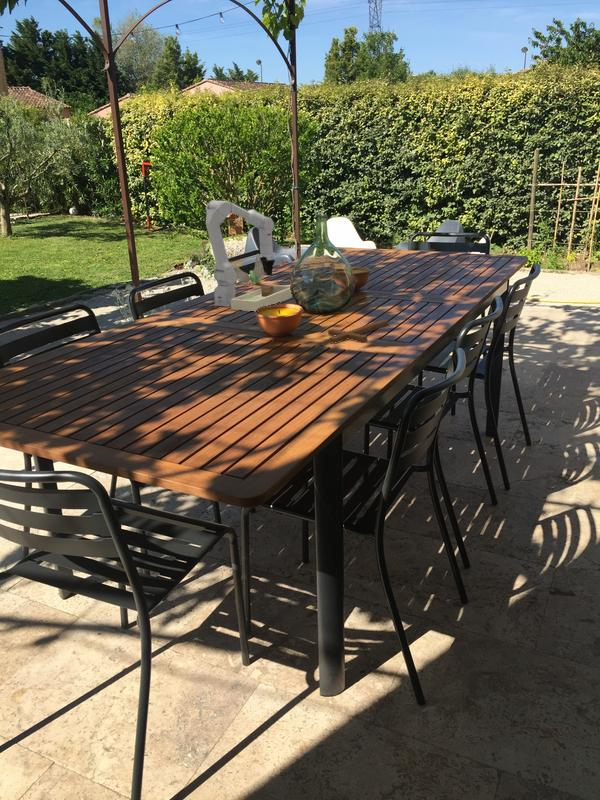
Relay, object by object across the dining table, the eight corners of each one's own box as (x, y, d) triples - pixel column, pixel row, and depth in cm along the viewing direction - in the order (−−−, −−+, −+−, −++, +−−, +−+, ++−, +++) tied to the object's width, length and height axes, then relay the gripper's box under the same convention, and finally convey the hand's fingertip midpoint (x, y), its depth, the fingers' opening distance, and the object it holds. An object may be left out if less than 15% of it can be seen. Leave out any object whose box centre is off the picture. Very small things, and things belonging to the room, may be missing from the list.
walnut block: (269, 296, 283) (268, 287, 281) (261, 296, 285) (261, 287, 283) (274, 295, 286) (273, 286, 285) (266, 294, 288) (266, 285, 286)
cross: (403, 322, 234) (349, 342, 214) (403, 329, 234) (350, 348, 215) (368, 316, 244) (314, 334, 225) (368, 322, 245) (315, 340, 226)
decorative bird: (279, 269, 325) (265, 250, 313) (278, 284, 320) (263, 266, 308) (238, 281, 334) (223, 263, 323) (236, 296, 329) (221, 279, 318)
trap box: (256, 312, 268) (256, 301, 266) (231, 309, 274) (230, 299, 273) (295, 296, 294) (295, 286, 292) (271, 294, 300) (271, 284, 298)
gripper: (277, 245, 285) (279, 275, 290) (272, 241, 298) (274, 270, 303) (261, 246, 284) (263, 277, 289) (257, 242, 297) (259, 271, 302)
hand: (268, 273), depth 296 cm, fingers open, 7 cm apart
